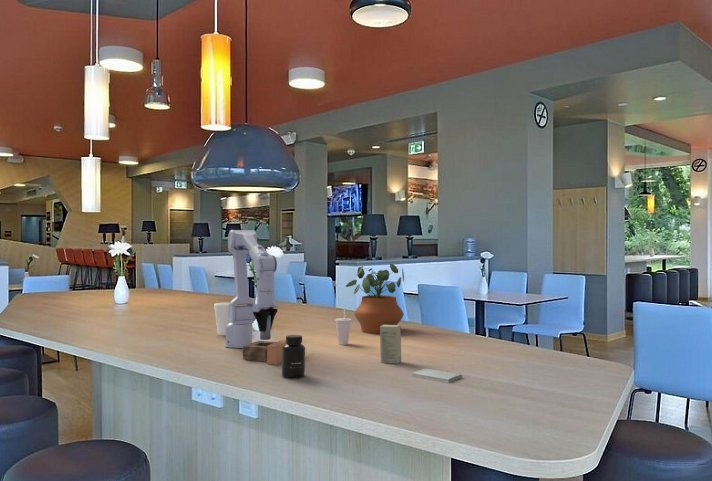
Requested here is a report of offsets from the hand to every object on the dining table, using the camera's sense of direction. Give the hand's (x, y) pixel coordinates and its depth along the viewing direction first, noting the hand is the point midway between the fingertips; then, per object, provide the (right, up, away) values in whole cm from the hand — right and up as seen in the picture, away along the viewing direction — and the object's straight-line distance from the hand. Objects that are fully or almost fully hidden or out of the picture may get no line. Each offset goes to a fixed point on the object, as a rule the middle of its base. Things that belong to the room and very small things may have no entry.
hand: (265, 330), depth 195 cm
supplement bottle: (+13, -10, -26) cm, 31 cm away
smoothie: (+26, -10, +26) cm, 38 cm away
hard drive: (+55, -10, -26) cm, 62 cm away
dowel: (0, -3, 0) cm, 3 cm away
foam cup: (-25, -9, +47) cm, 54 cm away
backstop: (+7, -9, -2) cm, 12 cm away
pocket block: (0, -9, 0) cm, 9 cm away
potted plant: (+39, -10, +61) cm, 73 cm away
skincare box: (+43, -10, -6) cm, 44 cm away
